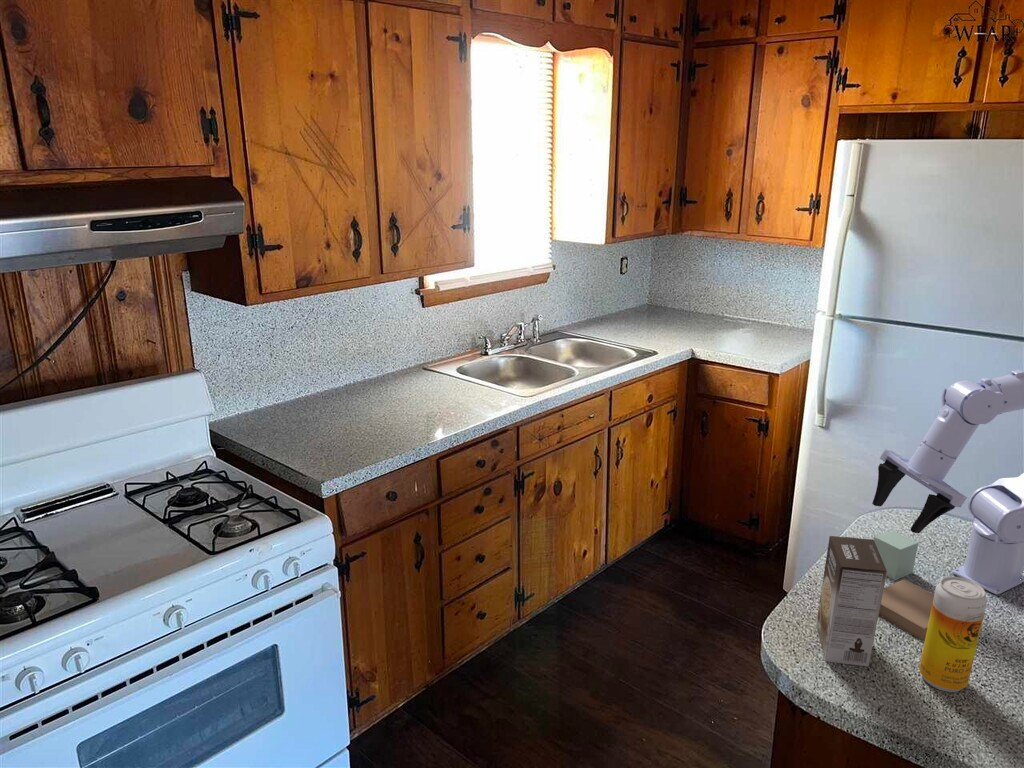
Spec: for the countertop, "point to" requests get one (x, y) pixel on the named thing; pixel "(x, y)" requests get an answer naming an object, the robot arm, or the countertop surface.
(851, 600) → the coffee box
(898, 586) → the walnut board
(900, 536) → the sage block
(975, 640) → the beer can
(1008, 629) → the countertop surface
